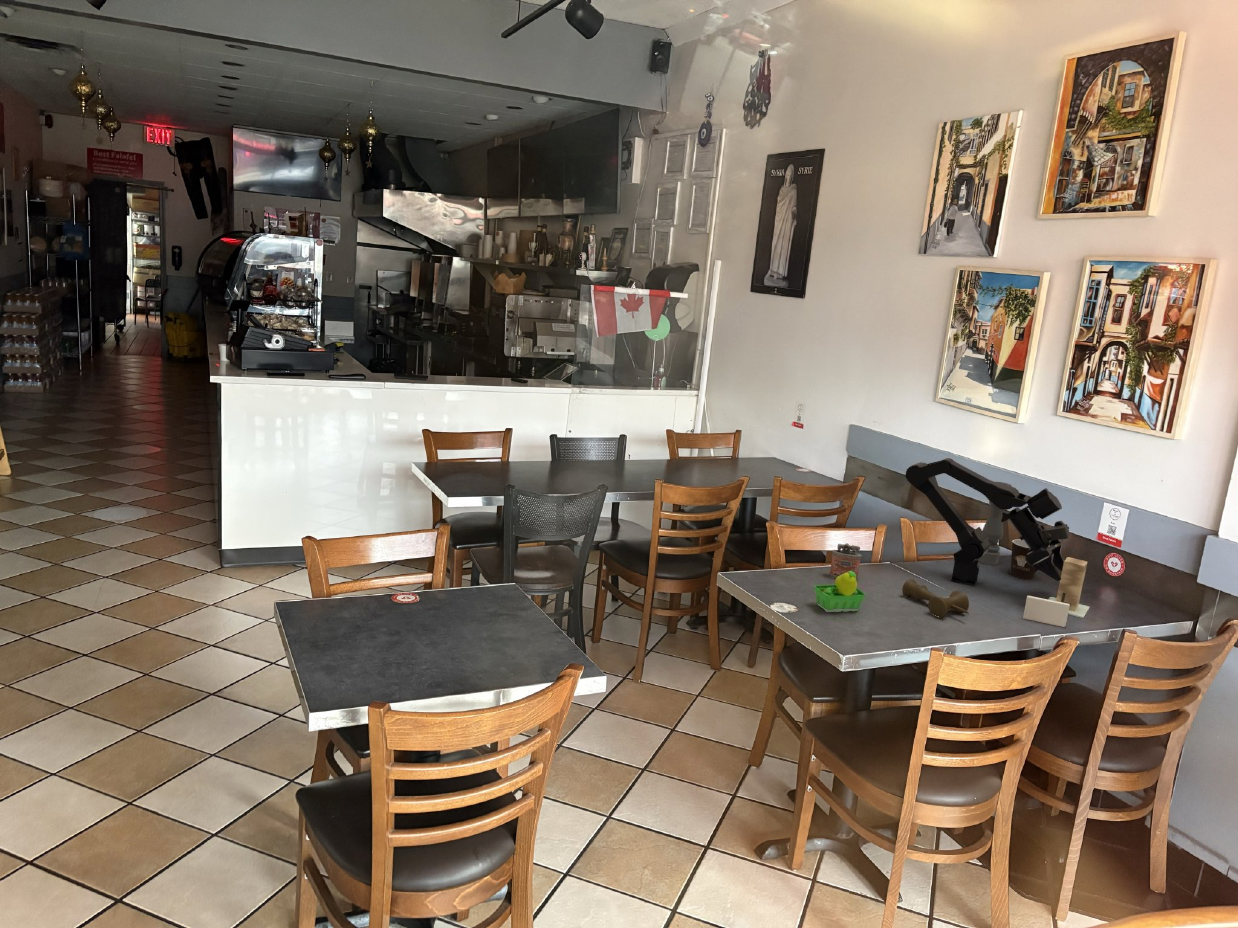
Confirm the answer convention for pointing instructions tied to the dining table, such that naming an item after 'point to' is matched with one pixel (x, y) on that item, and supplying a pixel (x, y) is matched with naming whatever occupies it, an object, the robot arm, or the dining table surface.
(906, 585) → the kendama
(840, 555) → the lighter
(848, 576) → the fruit basket
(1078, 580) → the tan wooden tall block
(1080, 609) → the display mat
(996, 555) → the candle holder
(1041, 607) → the screen
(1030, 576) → the coffee mug
